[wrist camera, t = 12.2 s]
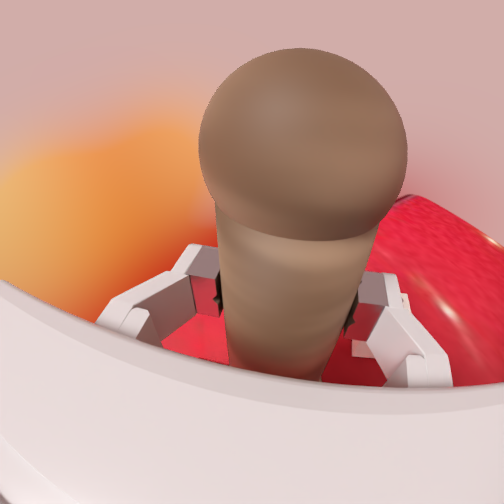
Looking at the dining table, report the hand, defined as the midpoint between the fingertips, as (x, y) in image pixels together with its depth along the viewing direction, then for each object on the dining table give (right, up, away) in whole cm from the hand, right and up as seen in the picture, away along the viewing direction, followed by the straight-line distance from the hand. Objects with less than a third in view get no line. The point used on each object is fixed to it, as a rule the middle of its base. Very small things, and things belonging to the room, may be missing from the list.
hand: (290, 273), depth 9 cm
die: (+10, -8, +15) cm, 20 cm away
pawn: (0, -7, +4) cm, 8 cm away
